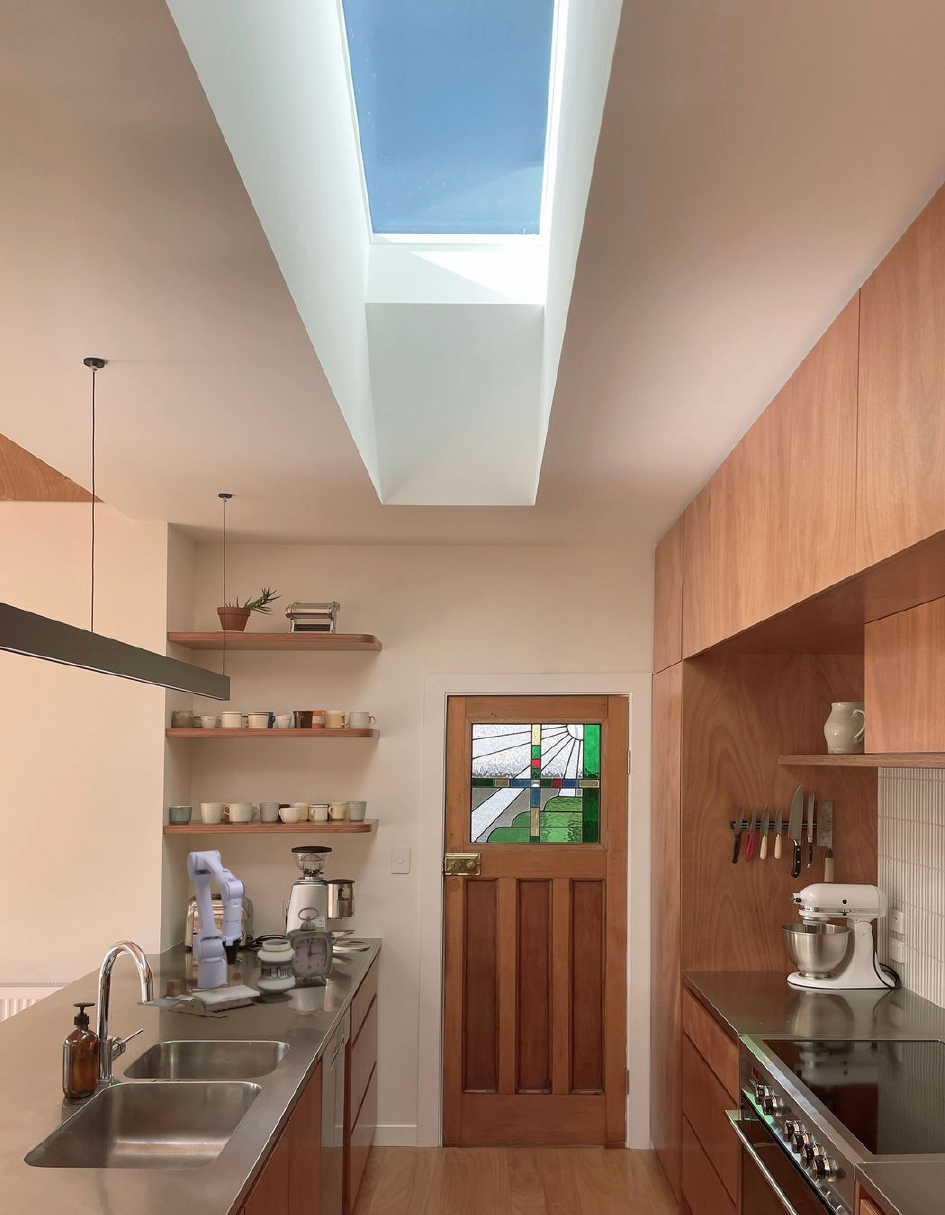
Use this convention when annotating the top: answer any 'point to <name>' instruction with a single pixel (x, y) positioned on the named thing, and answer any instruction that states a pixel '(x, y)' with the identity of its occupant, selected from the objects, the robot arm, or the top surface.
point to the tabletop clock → (310, 949)
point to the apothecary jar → (276, 970)
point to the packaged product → (223, 998)
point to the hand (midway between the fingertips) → (231, 964)
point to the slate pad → (160, 1002)
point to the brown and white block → (175, 990)
